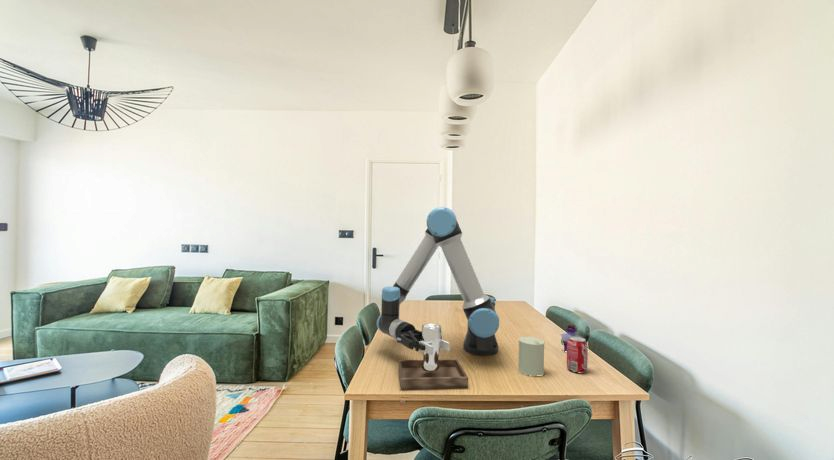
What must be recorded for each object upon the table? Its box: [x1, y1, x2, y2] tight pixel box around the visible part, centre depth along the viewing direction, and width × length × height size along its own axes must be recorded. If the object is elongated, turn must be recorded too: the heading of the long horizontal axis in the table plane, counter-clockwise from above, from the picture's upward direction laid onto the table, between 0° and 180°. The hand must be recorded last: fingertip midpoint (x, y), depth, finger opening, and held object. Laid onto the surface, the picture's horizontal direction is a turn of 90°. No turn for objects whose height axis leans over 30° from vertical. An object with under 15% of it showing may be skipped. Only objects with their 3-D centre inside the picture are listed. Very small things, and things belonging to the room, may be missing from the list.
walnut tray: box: [397, 358, 469, 391], centre depth 116 cm, size 22×16×4 cm
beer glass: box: [421, 322, 442, 373], centre depth 116 cm, size 7×7×15 cm
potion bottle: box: [560, 323, 582, 352], centre depth 145 cm, size 9×9×12 cm
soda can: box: [566, 336, 589, 373], centre depth 125 cm, size 7×7×12 cm
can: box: [517, 336, 545, 377], centre depth 124 cm, size 9×9×12 cm
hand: (440, 348), depth 112 cm, fingers closed on beer glass, 6 cm apart
